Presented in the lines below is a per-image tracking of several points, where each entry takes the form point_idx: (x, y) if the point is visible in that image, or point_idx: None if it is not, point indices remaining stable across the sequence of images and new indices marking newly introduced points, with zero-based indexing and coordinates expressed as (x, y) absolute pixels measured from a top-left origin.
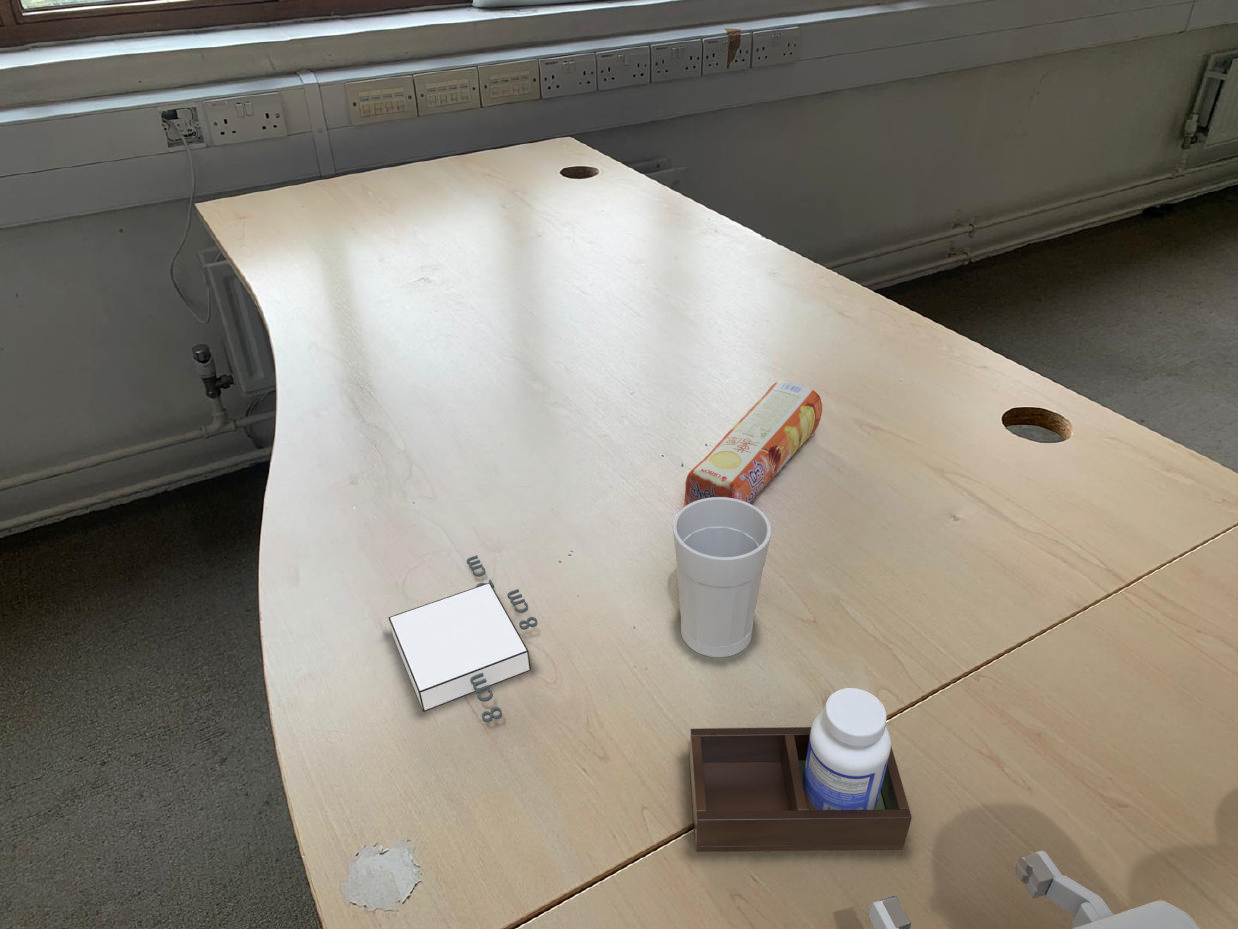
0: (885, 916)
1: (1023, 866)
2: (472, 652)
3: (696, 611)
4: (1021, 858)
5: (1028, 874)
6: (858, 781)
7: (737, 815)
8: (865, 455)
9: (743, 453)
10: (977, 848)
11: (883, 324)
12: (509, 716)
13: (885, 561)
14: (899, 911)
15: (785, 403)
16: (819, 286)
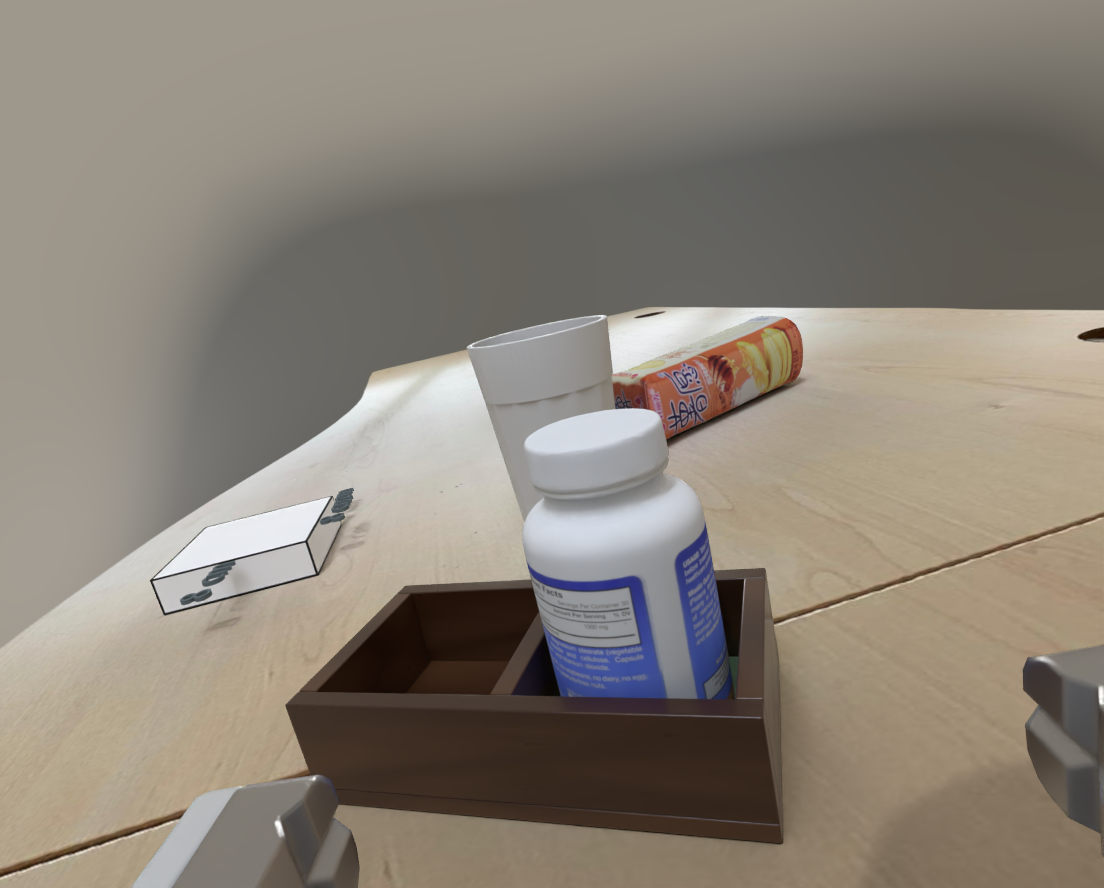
0: (179, 844)
1: (1051, 707)
2: (247, 545)
3: (513, 466)
4: (1031, 665)
5: (1093, 754)
6: (601, 600)
7: (363, 699)
8: (866, 384)
9: (671, 359)
10: (1024, 865)
11: (915, 317)
12: (246, 617)
13: (870, 450)
14: (258, 830)
15: (745, 328)
16: (846, 314)
